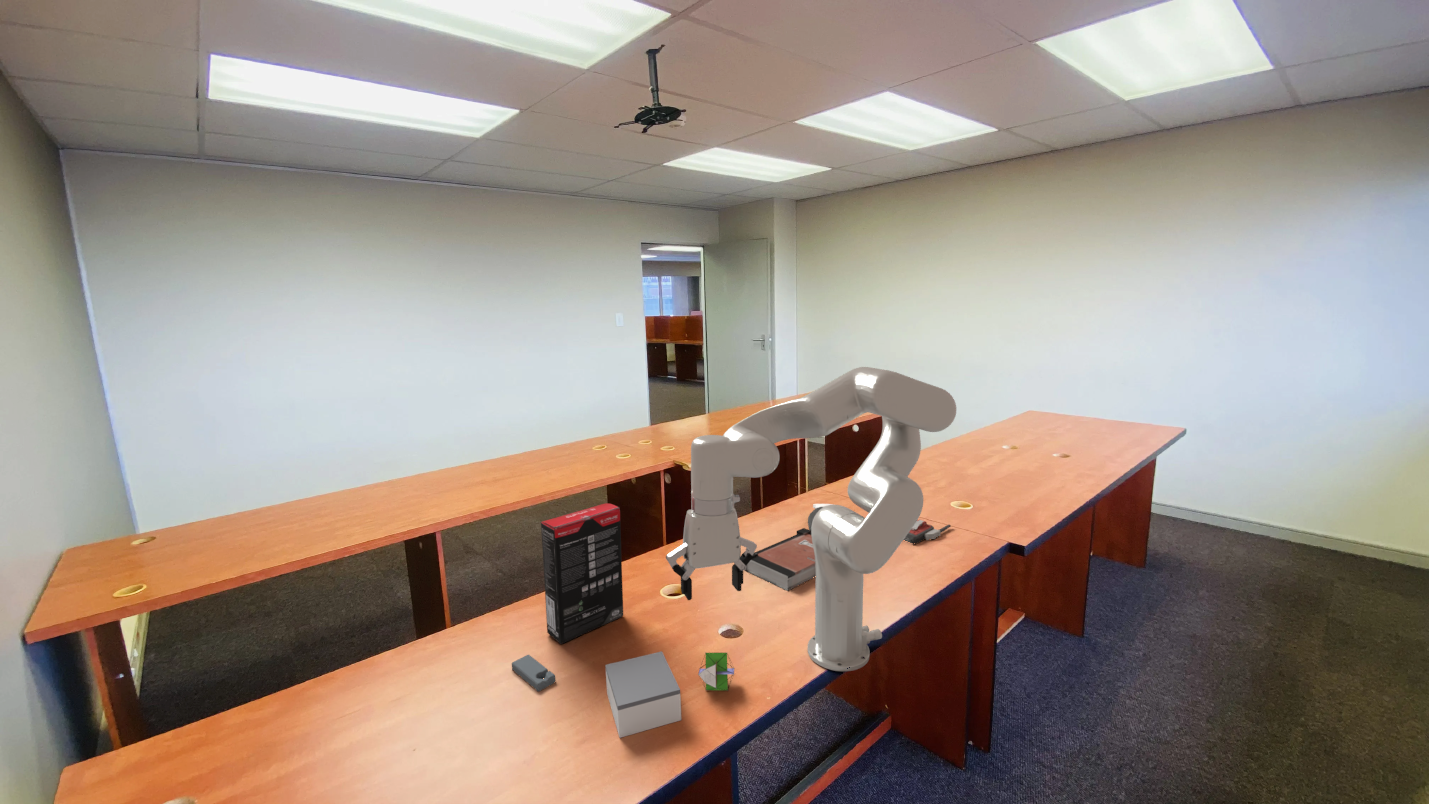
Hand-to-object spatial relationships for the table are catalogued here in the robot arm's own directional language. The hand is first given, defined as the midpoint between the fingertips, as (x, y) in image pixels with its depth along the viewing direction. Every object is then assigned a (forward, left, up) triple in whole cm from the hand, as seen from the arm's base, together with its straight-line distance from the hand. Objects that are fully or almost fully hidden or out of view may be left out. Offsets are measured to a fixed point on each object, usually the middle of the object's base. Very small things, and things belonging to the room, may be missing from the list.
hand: (712, 592), depth 105 cm
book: (-39, -39, -20) cm, 59 cm away
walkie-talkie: (-85, -42, -20) cm, 97 cm away
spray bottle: (-64, -65, -20) cm, 93 cm away
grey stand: (+14, 0, -20) cm, 24 cm away
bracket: (+32, -17, -20) cm, 42 cm away
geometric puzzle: (0, 0, -20) cm, 20 cm away
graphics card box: (+20, -31, -20) cm, 42 cm away
